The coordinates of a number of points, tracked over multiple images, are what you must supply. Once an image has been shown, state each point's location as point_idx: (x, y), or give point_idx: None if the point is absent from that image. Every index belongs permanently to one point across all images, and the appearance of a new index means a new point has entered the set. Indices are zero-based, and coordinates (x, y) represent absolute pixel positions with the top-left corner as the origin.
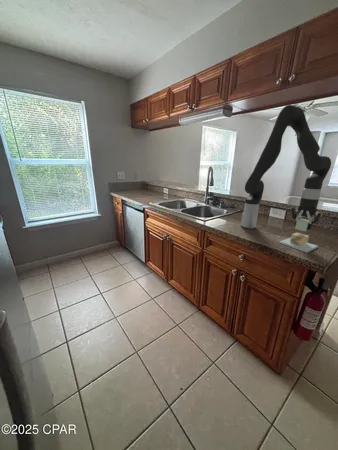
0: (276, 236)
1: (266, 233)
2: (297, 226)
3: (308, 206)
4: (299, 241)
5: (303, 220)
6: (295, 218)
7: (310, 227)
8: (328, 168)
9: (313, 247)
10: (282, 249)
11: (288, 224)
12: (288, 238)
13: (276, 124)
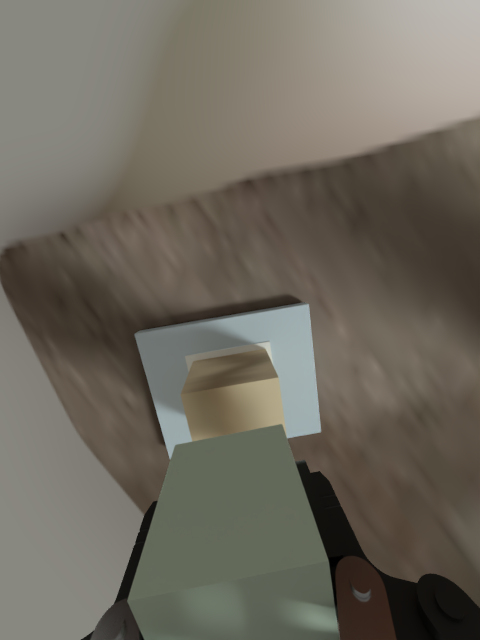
0: (384, 382)
1: (450, 365)
2: (267, 456)
3: None
4: (209, 370)
5: (255, 635)
6: (401, 608)
7: (139, 536)
8: None
9: (160, 415)
10: (228, 231)
11: None
12: (315, 402)
13: None
